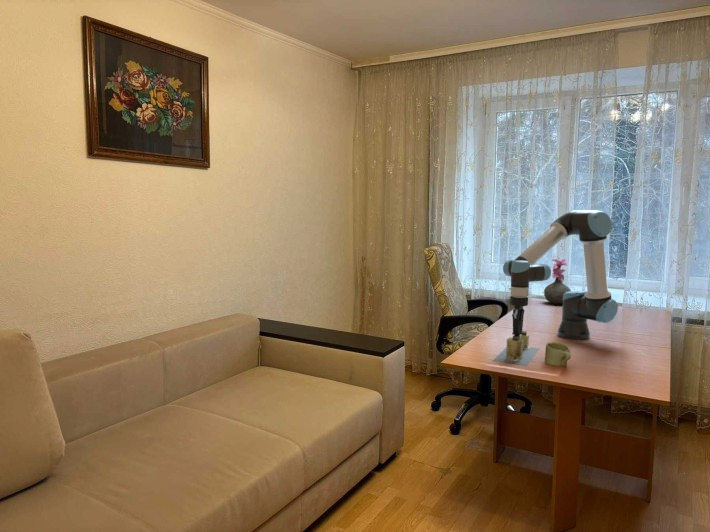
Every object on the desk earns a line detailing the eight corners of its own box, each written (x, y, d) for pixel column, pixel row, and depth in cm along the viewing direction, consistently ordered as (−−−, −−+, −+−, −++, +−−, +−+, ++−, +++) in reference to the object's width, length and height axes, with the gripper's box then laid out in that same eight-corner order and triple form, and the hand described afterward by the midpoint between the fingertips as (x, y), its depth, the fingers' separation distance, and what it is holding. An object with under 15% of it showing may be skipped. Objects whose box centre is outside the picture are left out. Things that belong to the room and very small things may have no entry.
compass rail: (528, 347, 243) (529, 331, 242) (514, 364, 218) (514, 346, 217) (519, 346, 245) (520, 330, 244) (504, 362, 220) (505, 345, 219)
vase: (546, 305, 344) (548, 260, 340) (541, 301, 361) (543, 257, 357) (573, 306, 341) (575, 261, 337) (567, 301, 358) (569, 258, 354)
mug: (536, 356, 225) (546, 336, 222) (557, 362, 226) (567, 343, 223) (546, 370, 213) (557, 349, 210) (569, 377, 215) (580, 356, 212)
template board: (540, 349, 242) (540, 347, 242) (526, 367, 215) (526, 365, 215) (509, 345, 249) (509, 343, 248) (492, 362, 222) (492, 360, 222)
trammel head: (522, 356, 227) (523, 336, 226) (520, 359, 223) (521, 338, 222) (508, 354, 230) (509, 334, 229) (506, 357, 226) (507, 336, 225)
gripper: (513, 293, 235) (511, 344, 238) (506, 297, 224) (504, 351, 227) (531, 294, 232) (528, 346, 235) (524, 299, 220) (522, 353, 223)
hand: (516, 348), depth 231 cm, fingers closed
